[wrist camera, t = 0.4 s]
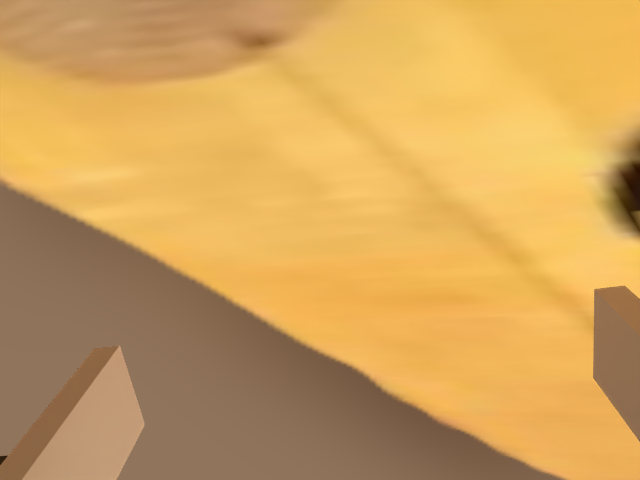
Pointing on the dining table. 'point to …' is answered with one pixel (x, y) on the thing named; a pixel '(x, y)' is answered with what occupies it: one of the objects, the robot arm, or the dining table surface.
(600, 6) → the dining table surface
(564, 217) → the dining table surface
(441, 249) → the dining table surface
